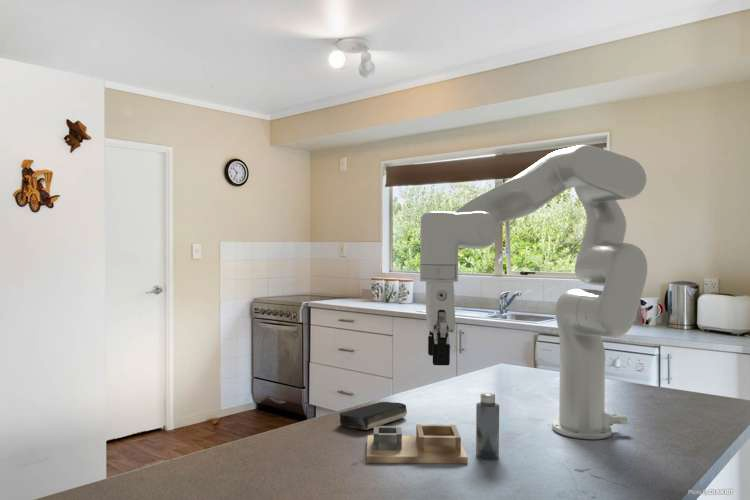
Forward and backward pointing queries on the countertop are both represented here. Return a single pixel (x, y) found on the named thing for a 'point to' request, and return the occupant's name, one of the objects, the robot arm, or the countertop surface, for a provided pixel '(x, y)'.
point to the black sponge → (373, 415)
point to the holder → (416, 445)
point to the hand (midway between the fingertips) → (438, 359)
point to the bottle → (487, 428)
